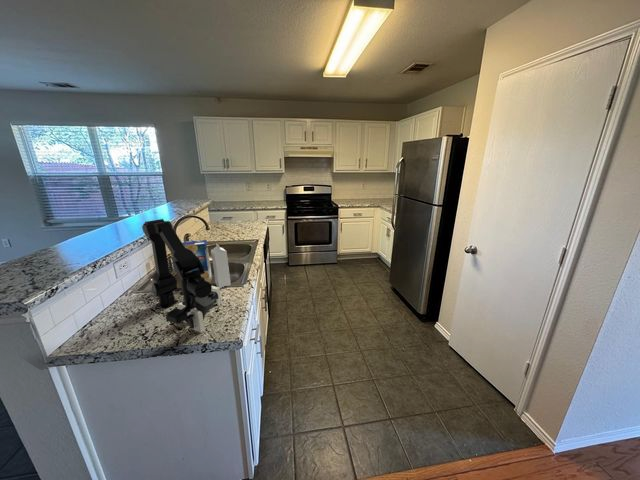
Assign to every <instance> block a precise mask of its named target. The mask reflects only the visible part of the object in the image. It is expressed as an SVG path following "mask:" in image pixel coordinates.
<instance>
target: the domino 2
mask: <svg viewBox="0 0 640 480" xmlns="http://www.w3.org/2000/svg"><path fill="white" fill-rule="evenodd" d="M191 314H193V315H194V316H193V323H194V329H192V328H191V330H193V331H195V332H198V333H203V332H204V331H206V328H205V319H204V320H203V314H202V312H201V311H198V310H195V309H193V310H191Z"/></svg>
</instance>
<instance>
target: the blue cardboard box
mask: <svg viewBox="0 0 640 480" xmlns="http://www.w3.org/2000/svg"><path fill="white" fill-rule="evenodd" d="M182 244H183V245H184V247H185V248H187V249H189V250H191V251H192V252H193V253H194V254H195V255H196V256H197V257H198V258H199V260H200V261H201V263H202V265H203V267H204V271H205V273H204V274H201V277H203V278H204V279H205V280H206V281H207V282H209V283H210V284H211V282H212V280H213V275H212V274H213V273H212V267H211V261H210V254H209V248H208V247H209V246H208V241H207V239H201V240H200V239H199V240H187V241H186V240H185V241H183V242H182ZM196 270H199V269H198V268H197V269H195V270H192V272H193V271H196Z"/></svg>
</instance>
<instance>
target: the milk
mask: <svg viewBox="0 0 640 480" xmlns="http://www.w3.org/2000/svg"><path fill="white" fill-rule="evenodd" d="M215 244H216V246H215V247H213V248H212V249H211V250H210V253H211V254H210V255H211V260H212V268H213V273H214V281H215V285H216V287H219V288H220V289H223V288H225V287H224V286H227V287H230V286H231V276H230V269H229V260H228V253H227V250H226V249H224V247H220V245H219V244H217V243H215ZM222 287H223V288H222Z"/></svg>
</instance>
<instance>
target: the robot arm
mask: <svg viewBox="0 0 640 480" xmlns="http://www.w3.org/2000/svg"><path fill="white" fill-rule="evenodd" d="M141 229H142V232H143V234H144V235H145V237H147V238H148V240H150V241H151V249H152V253H153V261H154V267H155V270H156V272H155V274H154V276H153V278H152V282H153V283H152V285H151V289H150V290H151V292H152V295H154V296H155V297H157V298H158V303H156V304H155V306H157V307H160V308H163V309H168V308H170V307H171V306H173V305H175V304H176V303H178V302H179V300H178V299H175V294H174V291H177V289H178V282H177V281H178V280H177V279H176V277H175V275H173V274H172V273H171V272H170V267H169V260H168V253H167V249H168V251H169V252H170V254H171V255H172V267H173V269H174V271H175V274H177V276H178V278H179V281H180V286H181V291H180V292H179V293H180V295H181V296H183V301H181V302H182V305H185V307H184V308H183V309H179V307H178V308H177V307H175V308H173V309H171V310H170V311H169V312H167V313H166V314H165V318H166V321H168V322H170V323H173V324H175V325H179V324H181V323H185V322H186V323H185V324H187V325H188V327H189V328H190V329H191V330H192V329H194V323H193V316H194V315H193V314H191V310H193V309H194V308H196V309H197V310H198V311H201V312H202V314H203V320H204V321H205V317H206V313H207V312H209V311H208V310H210V309H212V308H213V309H214V305H215V304H214V303H216V302H217V301H216V300H217V299H218V294H217V292H214V291H211V289H212V286H213V285H212V284H211V282H210V283H209V282H207V281H206V280H205V279H204V278H203V277H201V274H204V273H205V271H204V267H203V265H202V263H201V261H200V260H199V258H198V257H197V256H196V255H195V254H194V253H193V252H192V251H191V250H189V249H187V248H185V247H184V245H183V244H182V243H183V242H182V241H181V239H180V238H179V236H178V234H177V233H176V231H175V230H174V228H173V224H172V222H171V221H170V220H165V219H164V218H160V219H154V220H148V221H145V222H144V223H143V224H142V227H141ZM197 268H198V269H199V270H196V271H193V272H192V270H195V269H197ZM183 321H185V322H183Z"/></svg>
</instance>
